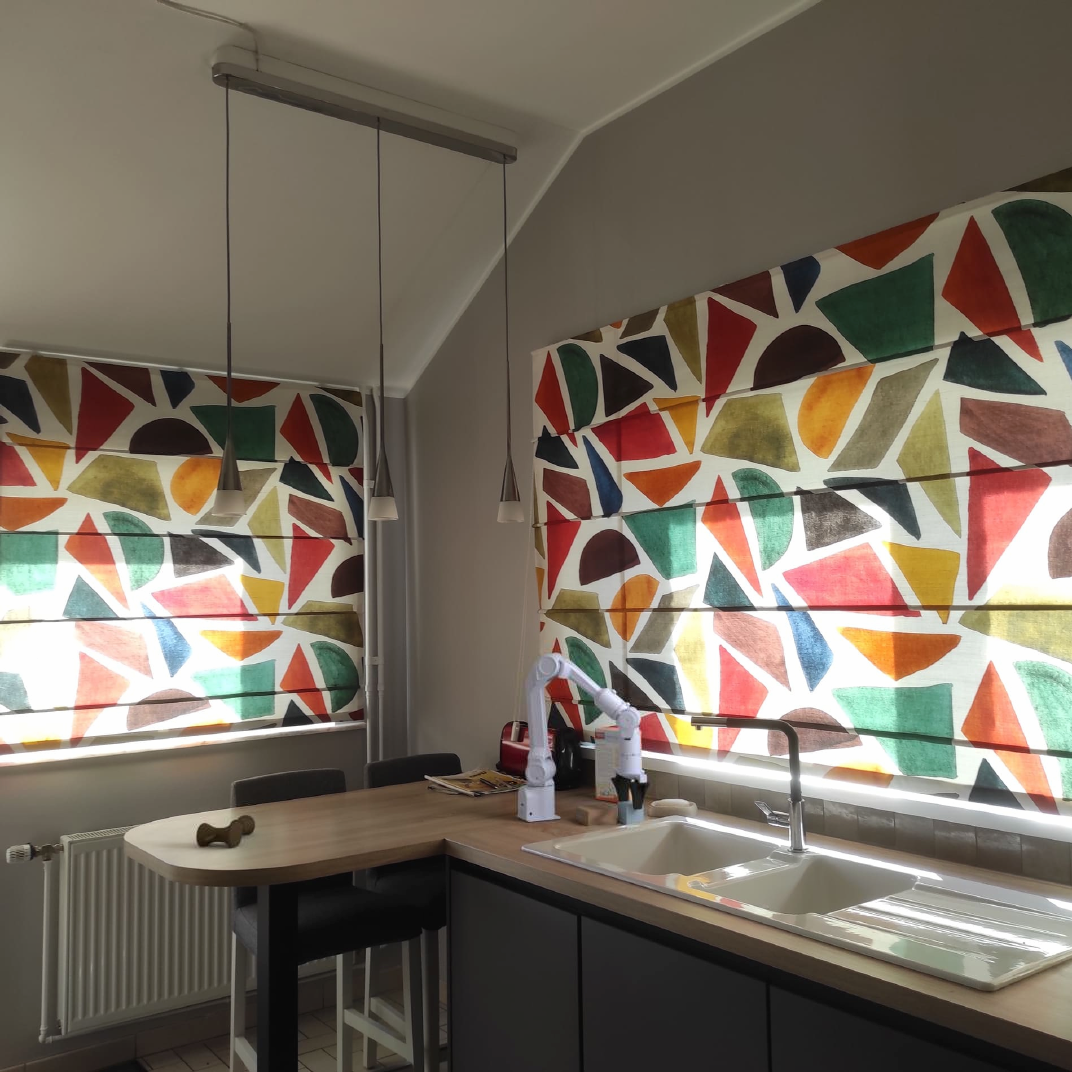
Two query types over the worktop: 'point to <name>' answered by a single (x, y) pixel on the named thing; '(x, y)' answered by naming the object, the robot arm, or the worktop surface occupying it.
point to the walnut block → (596, 815)
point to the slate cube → (629, 813)
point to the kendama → (225, 832)
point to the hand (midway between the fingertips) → (630, 806)
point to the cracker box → (608, 762)
